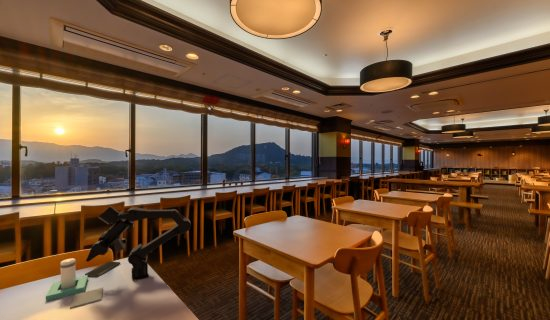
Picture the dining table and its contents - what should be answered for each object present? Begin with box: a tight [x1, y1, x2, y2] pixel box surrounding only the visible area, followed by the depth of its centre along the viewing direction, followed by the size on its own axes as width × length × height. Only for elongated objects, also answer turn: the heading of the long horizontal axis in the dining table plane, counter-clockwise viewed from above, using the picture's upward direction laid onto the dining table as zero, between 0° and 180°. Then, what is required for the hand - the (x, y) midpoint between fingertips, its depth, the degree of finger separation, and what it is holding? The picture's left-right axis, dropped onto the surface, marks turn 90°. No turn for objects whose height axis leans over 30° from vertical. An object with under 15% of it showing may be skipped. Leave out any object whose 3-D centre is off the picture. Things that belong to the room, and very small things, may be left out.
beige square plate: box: [69, 287, 104, 309], centre depth 99 cm, size 10×10×1 cm
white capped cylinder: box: [59, 257, 77, 290], centre depth 105 cm, size 5×5×13 cm
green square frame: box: [45, 275, 89, 302], centre depth 105 cm, size 12×12×2 cm
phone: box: [84, 260, 121, 278], centre depth 124 cm, size 8×1×15 cm
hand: (90, 257), depth 108 cm, fingers open, 9 cm apart
